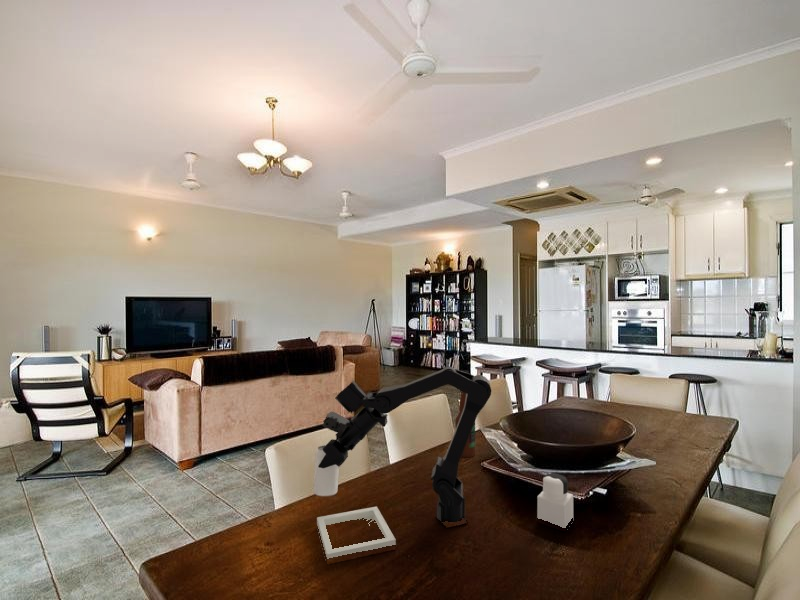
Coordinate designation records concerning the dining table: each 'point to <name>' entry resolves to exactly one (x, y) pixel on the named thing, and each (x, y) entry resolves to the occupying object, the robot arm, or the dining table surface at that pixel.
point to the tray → (365, 546)
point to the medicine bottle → (555, 501)
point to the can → (325, 476)
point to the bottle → (470, 444)
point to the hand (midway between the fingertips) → (323, 463)
